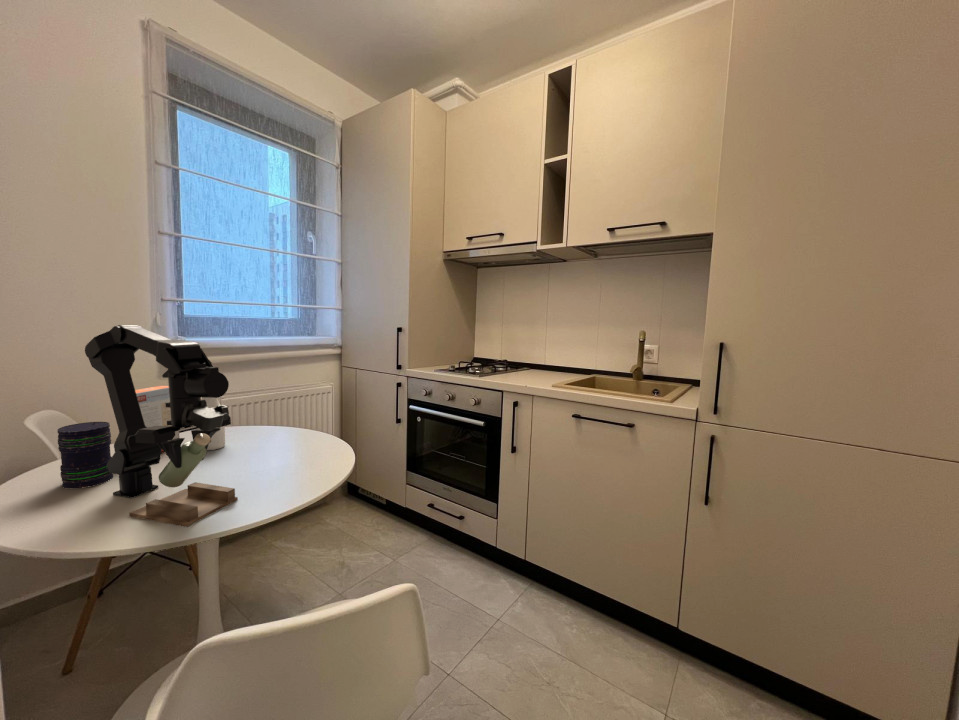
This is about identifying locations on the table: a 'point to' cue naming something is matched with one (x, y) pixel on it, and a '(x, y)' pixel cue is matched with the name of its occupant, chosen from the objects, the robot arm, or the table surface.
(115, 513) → the table surface
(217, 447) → the milk bottle
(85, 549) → the table surface
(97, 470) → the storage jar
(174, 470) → the olive bottle
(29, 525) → the table surface
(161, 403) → the cracker box
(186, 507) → the walnut U-rest
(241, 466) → the table surface
